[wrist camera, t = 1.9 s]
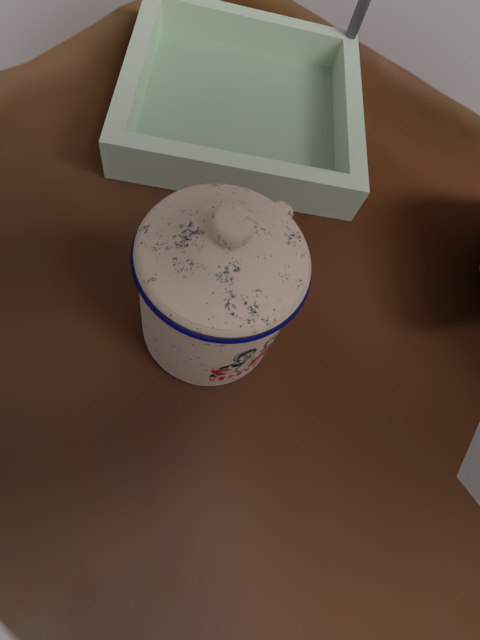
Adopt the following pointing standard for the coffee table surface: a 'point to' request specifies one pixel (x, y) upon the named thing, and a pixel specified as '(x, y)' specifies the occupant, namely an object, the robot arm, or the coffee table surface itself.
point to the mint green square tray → (241, 106)
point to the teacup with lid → (217, 280)
